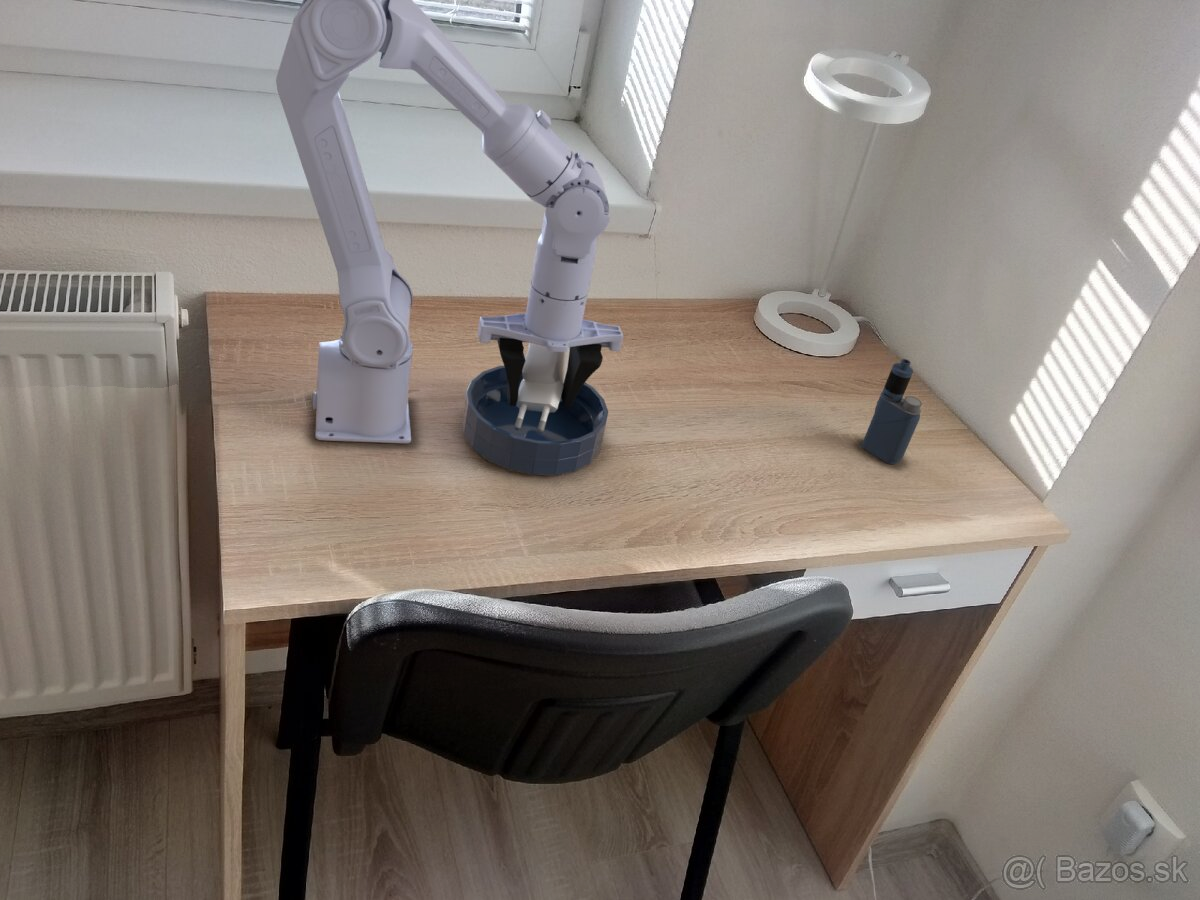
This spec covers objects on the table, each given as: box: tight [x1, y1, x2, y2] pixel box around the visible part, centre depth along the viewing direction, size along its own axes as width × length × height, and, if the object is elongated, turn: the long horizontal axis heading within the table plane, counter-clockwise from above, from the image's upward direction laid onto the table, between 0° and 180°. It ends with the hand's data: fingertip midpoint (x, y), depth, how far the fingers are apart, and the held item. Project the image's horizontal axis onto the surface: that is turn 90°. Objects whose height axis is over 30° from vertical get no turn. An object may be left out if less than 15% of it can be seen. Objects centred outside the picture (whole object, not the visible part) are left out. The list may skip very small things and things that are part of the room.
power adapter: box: [514, 343, 570, 433], centre depth 111 cm, size 11×5×6 cm
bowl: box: [461, 365, 609, 476], centre depth 112 cm, size 15×15×4 cm
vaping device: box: [860, 358, 923, 465], centre depth 120 cm, size 3×5×12 cm, turn 45°
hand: (538, 402), depth 110 cm, fingers closed on power adapter, 5 cm apart
